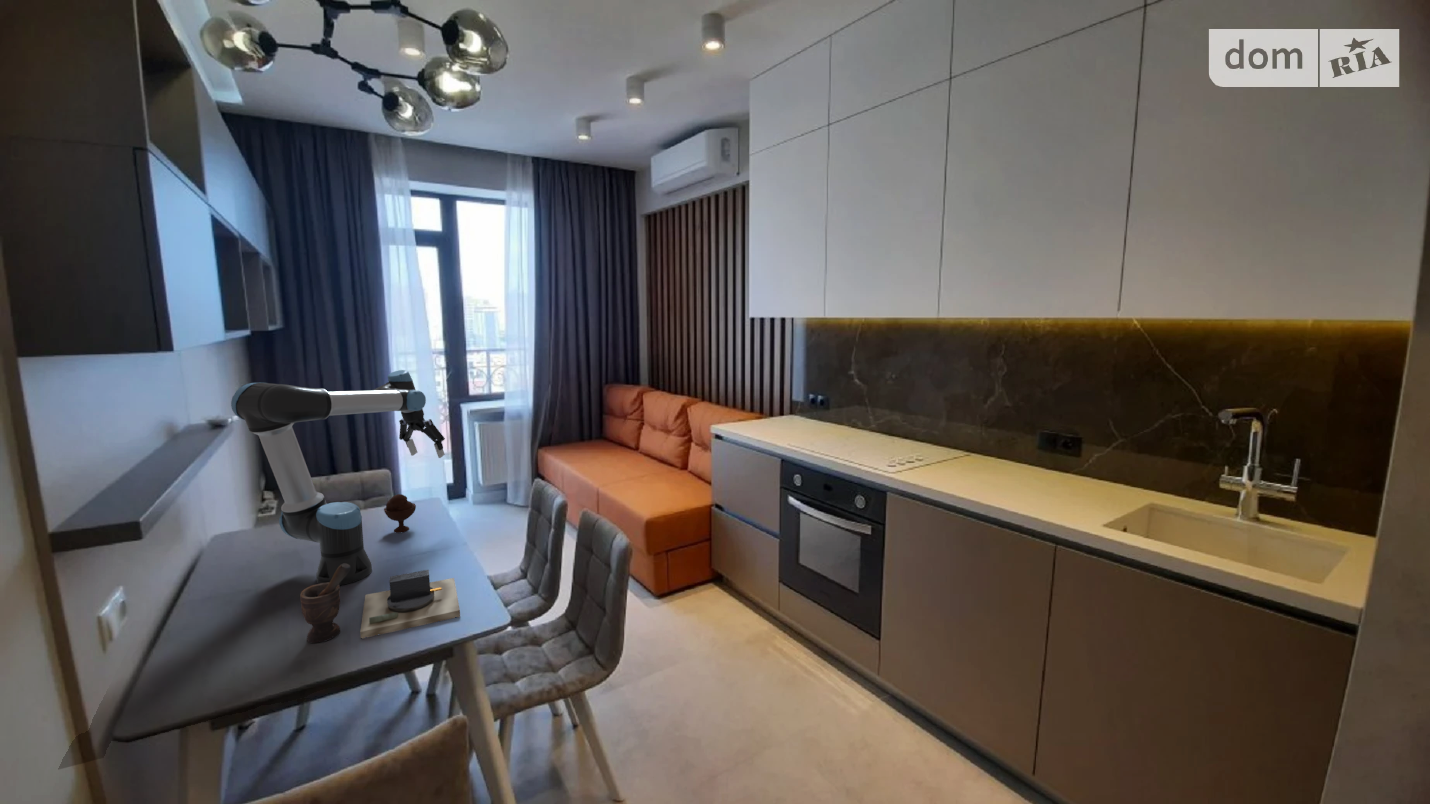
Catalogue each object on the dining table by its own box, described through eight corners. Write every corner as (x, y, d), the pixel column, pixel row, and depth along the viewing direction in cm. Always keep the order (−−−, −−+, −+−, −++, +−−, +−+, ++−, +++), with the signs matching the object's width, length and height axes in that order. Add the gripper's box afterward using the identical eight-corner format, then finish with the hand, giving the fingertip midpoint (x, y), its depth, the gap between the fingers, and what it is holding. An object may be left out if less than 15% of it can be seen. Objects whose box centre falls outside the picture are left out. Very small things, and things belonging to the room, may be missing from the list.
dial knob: (387, 616, 154) (384, 589, 153) (388, 597, 165) (386, 571, 164) (443, 604, 161) (441, 578, 160) (440, 586, 172) (439, 562, 170)
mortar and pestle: (358, 621, 156) (352, 553, 153) (355, 636, 149) (349, 566, 145) (307, 631, 150) (300, 561, 147) (302, 648, 143) (294, 575, 140)
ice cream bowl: (423, 528, 222) (420, 492, 220) (394, 537, 213) (391, 500, 210) (408, 523, 228) (405, 487, 225) (379, 531, 218) (376, 494, 216)
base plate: (360, 638, 148) (359, 626, 147) (366, 601, 167) (365, 589, 166) (460, 616, 159) (459, 604, 158) (454, 583, 178) (453, 573, 178)
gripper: (443, 405, 218) (459, 452, 227) (392, 403, 225) (410, 448, 234) (430, 414, 211) (447, 462, 221) (378, 411, 218) (396, 457, 228)
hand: (428, 455), depth 227 cm, fingers open, 13 cm apart
